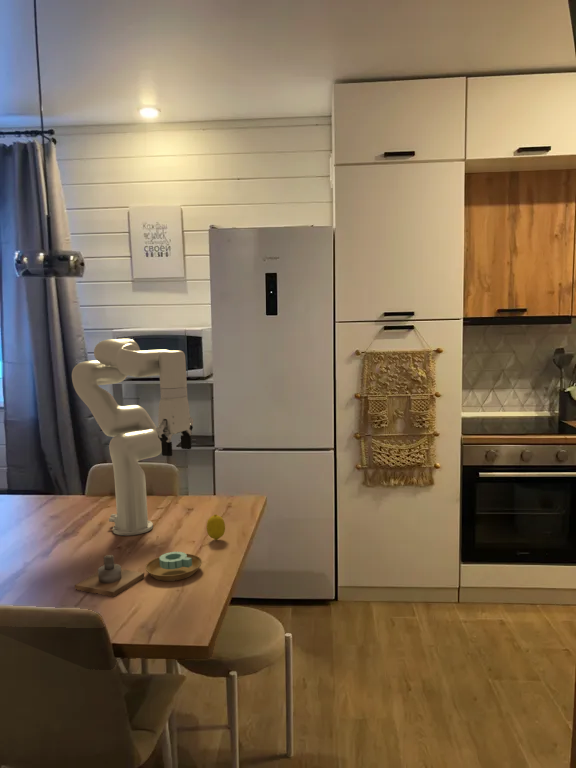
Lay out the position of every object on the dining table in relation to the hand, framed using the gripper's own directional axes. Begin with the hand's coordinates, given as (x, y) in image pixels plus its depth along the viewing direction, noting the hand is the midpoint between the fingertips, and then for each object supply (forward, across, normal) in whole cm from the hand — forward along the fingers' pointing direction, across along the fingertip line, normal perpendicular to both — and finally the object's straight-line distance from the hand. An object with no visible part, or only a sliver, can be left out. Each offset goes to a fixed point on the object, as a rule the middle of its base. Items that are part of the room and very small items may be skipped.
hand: (177, 452), depth 176 cm
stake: (+28, +28, -3) cm, 40 cm away
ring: (+26, +17, +8) cm, 32 cm away
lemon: (+28, -8, +7) cm, 30 cm away
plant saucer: (+29, +16, +8) cm, 34 cm away
